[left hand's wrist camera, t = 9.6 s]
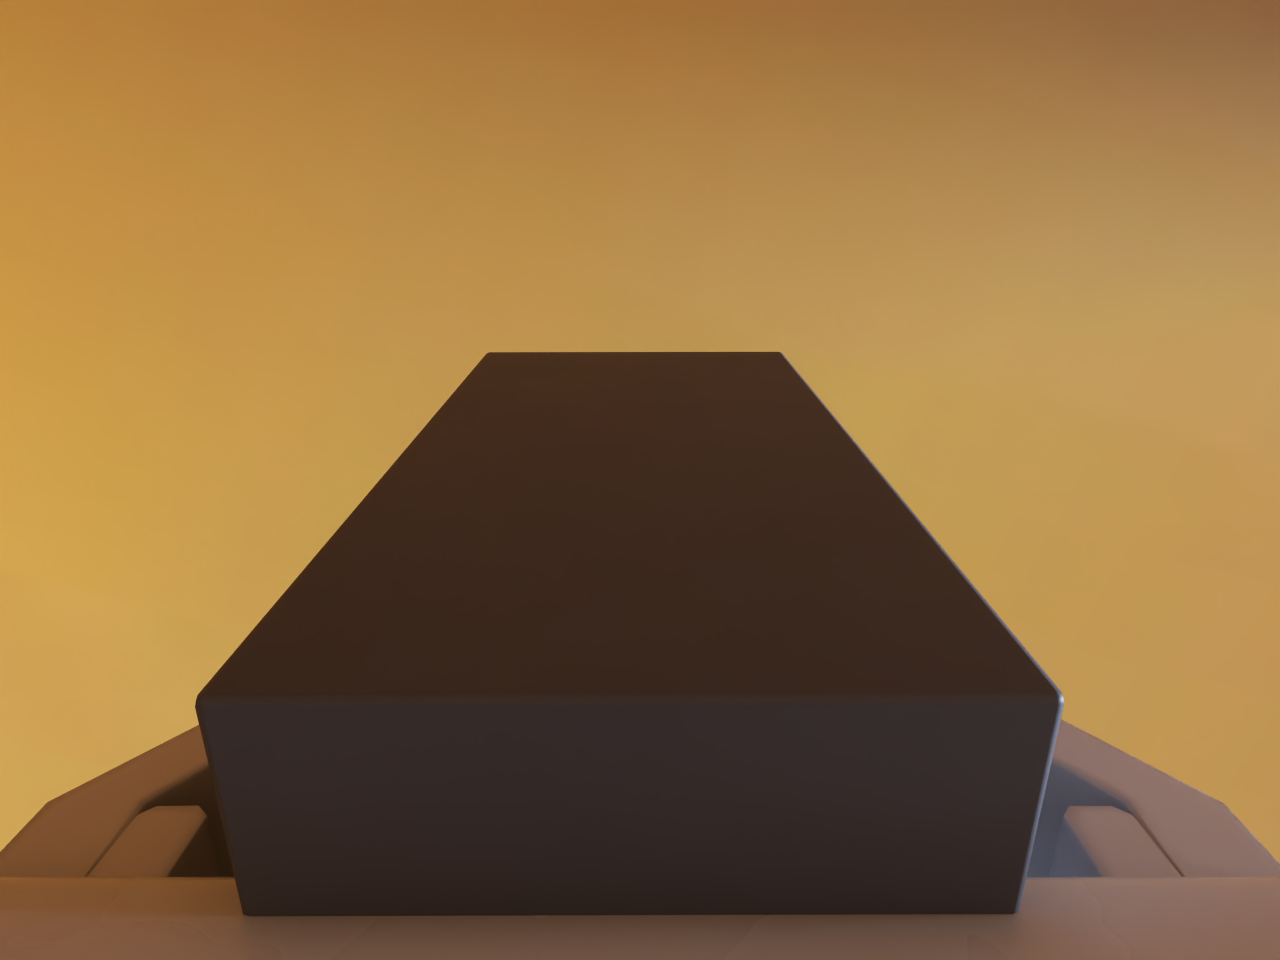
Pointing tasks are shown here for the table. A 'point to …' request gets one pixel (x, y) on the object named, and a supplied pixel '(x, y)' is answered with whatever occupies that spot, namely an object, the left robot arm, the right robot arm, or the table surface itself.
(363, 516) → the bar
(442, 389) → the table surface
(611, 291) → the table surface
